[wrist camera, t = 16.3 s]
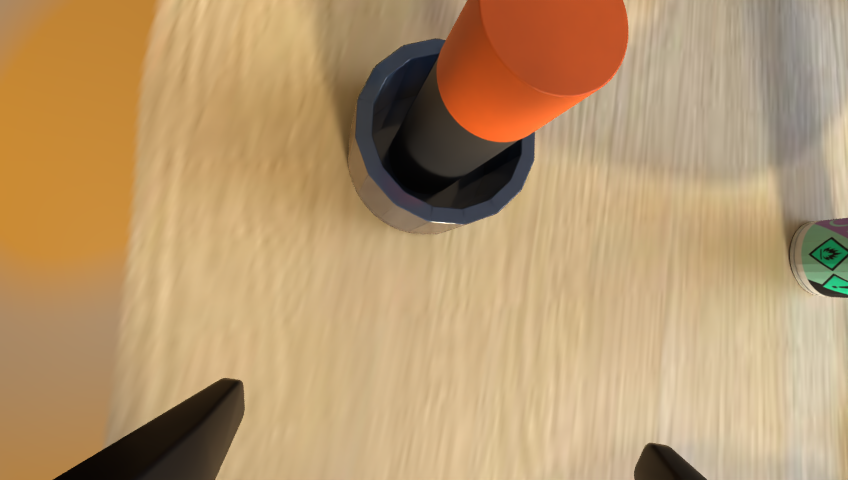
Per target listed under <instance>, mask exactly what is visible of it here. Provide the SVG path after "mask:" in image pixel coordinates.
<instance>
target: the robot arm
mask: <svg viewBox="0 0 848 480" xmlns="http://www.w3.org/2000/svg"><path fill="white" fill-rule="evenodd" d="M244 410H245V405H244V387H243V383H242V381H240V380H236V379H230V378H223V379H220V380H219V381H217V382H215V383H214V384H212V385H210V386H208V387H207V388H205V389H203V390H202V391H200V392H198V393H197V394H195V395H193V396H192V397H190V398H188V399H187V400H185V401H183V402H182V403H180V404H178V405H177V406H175V407H173V408H172V409H170V410H168V411H167V412H165V413H163V414H162V415H160V416H158V417H157V418H155V419H153V420H152V421H150V422H148V423H147V424H145V425H143V426H142V427H140V428H138V429H137V430H135V431H133V432H132V433H130V434H128V435H127V436H125V437H123V438H122V439H120V440H118V441H117V442H115V443H113V444H112V445H110V446H108V447H107V448H105V449H103V450H102V451H100V452H98V453H97V454H95V455H93V456H92V457H90V458H88V459H87V460H85V461H83V462H82V463H80V464H78V465H77V466H75V467H73V468H72V469H70V470H68V471H67V472H65V473H63V474H62V475H60V476H58V477H57V478H55V479H53V480H215V478H216V476H217V474H218V472H219V470H220V467H221V465H222V463H223V461H224V458H225V456H226V454H227V452H228V450H229V447H230V445H231V443H232V441H233V438H234V436H235V434H236V432H237V430H238V427H239V425H240V423H241V421H242V418H243V415H244ZM634 479H635V480H707V479H706V478H705V477H703V476H702V475H701V474H700V473H699V472H698V471H697V470H696V469H694V468H693V467H692V466H691V465H690V464H689V463H688V462H687V461H685V460H684V459H683V458H682V457H681V456H680V455H679V454H677V453H676V452H675V451H674V450H673V449H672V448H670V447H669V446H667V445H662V444H656V443H648V444H647V445H646V446H645V447H644V449H643V452H642V454H641V456H640V458H639V460H638V462H637V464H636V467H635V471H634Z"/></svg>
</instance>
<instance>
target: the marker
mask: <svg viewBox="0 0 848 480" xmlns="http://www.w3.org/2000/svg"><path fill="white" fill-rule="evenodd" d="M627 43H628V19H627V14H626V9H625V5H624V2H623V0H467V2H466V4H465V6H464V8H463V10H462V11H461V13H460V15H459V17H458V19H457V21H456V23H455V24H454V26H453V28H452V30H451V32H450V34H449V35H448V37H447V39H446V41H445V43H444V45H443V47H442V49H441V51H440V54H439V57H438V59H437V61H436V62H435V64H434V66H433V68H432V70H431V71H430V73H429V75H428V77H427V79H426V81H425V82H424V84H423V86H422V88H421V90H420V91H419V93H418V95H417V97H416V99H415V100H414V102H413V104H412V106H411V108H410V110H409V111H408V113H407V115H406V117H405V119H404V120H403V122H402V124H401V126H400V128H399V129H398V131H397V133H396V135H395V137H394V139H393V141H392V143H391V147H390V163H391V166H392V169H393V171H394V174H395V175H396V177H397V178H398V179H399V180H400V182H401V183H402V184H404V185H405V186H406V187H408V188H409V189H411V190H413V191H416V192H419V193H424V194H432V193H437V192H440V191H442V190H444V189H446V188H447V187H449V186H450V185H452V184H453V183H455V182H456V181H458V180H459V179H461V178H462V177H464V176H465V175H467V174H468V173H470V172H471V171H473V170H474V169H476V168H477V167H479V166H480V165H482V164H483V163H485V162H487V161H488V160H490V159H491V158H493V157H494V156H496V155H497V154H499V153H500V152H502V151H503V150H505V149H506V148H508V147H509V146H511V145H512V144H514V143H515V142H517V141H518V140H520V139H522V138H524V137H527V136H528V135H530V134H531V133H533V132H534V131H536V130H537V129H539V128H541V127H542V126H544V125H545V124H547V123H548V122H550V121H551V120H553V119H554V118H556V117H557V116H559V115H560V114H562V113H563V112H565V111H566V110H568V109H569V108H571V107H573V106H574V105H576V104H577V103H579V102H580V101H582V100H583V99H585V98H586V97H588V96H589V95H591V94H592V93H594V92H595V91H597V90H598V89H600V88H601V87H603V86H604V85H605V84H607V83H608V82H609V81H610V80H611V79H612V77H613V76H614V75H615V74H616V72H617V70H618V69H619V67H620V65H621V63H622V61H623V58H624V56H625V52H626V49H627Z"/></svg>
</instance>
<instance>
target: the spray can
mask: <svg viewBox="0 0 848 480" xmlns="http://www.w3.org/2000/svg"><path fill="white" fill-rule="evenodd" d="M790 262H791V267H792V271H793V273H794V276H795V278H796V280H797V281H798V283H799V284H800V285H801V287H802V288H803V289H804V290H806V291H807V292H808V293H810V294H813V295H817V296H826V297H844V298H848V218H843V219H833V220H823V221H816V222H809V223H806V224H804V225H803V226H801V227H800V228H799V229H798V230H797V232H796V233H795V235H794V237H793V240H792V242H791V247H790Z"/></svg>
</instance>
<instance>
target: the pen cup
mask: <svg viewBox="0 0 848 480" xmlns="http://www.w3.org/2000/svg"><path fill="white" fill-rule="evenodd" d="M445 41H446V40H442V39H431V40H426V41H421V42H417V43H412V44H407V45H403V46H402V47H400V48H399V49H397V50H396V51H395V52H393V53H392V54H391V55H389V56H388V57H387V58H385V59H384V60H383V61H381V62H380V63H378V64H377V65H376V66H375V68H373V70H372V72H371V74H370V75H369V77H368V79H367V81H366V83H365V85H364V87H363V89H362V91H361V93H360V94H359V96H358V99H357V103H356V107H355V112H354V116H353V121H352V126H351V130H350V136H349V148H348V166H349V172H350V176H351V179H352V183H353V185H354V187H355V190H356V192H357V193H358V195H359V197H360V199H361V200H362V201H363V203H364V204H365V205H366V207H367V208H368V209H369V210H370V211H371V212H372V213H373V214H374V215H375V216H377V217H378V218H379V219H380V220H382V221H383V222H385V223H387V224H388V225H390V226H392V227H394V228H396V229H399V230H402V231H405V232H409V233H415V234H439V233H442V232H445V231H448V230H451V229H454V228H457V227H460V226H463V225H466V224H469V223H472V222H475V221H478V220H480V219H483V218H486V217H489V216H492V215H495V214H497V213H498V212H499V211H501V210H502V209H503V208H504V207H505V206H506V205H507V204H508V203H509V202H510V201H511V200H512V199H513V198H514V197H515V196H516V195H517V194H518V193H519V192H520V191H521V190H522V188H523V186H524V183H525V181H526V178H527V176H528V174H529V171H530V169H531V166H532V164H533V162H534V147H535V131H534V132H533V133H531V134H530V135H528V136H527V137H524V138H522V139H520V140H518V141H517V142H515V143H514V144H512V145H511V146H509V147H508V148H506V149H505V150H503V151H502V152H500V153H499V154H497V155H496V156H494V157H493V158H491V159H490V160H488V161H487V162H485V163H483V164H482V165H480V166H479V167H477V168H476V169H474V170H473V171H471V172H470V173H468V174H467V175H465V176H464V177H462V178H461V179H459V180H458V181H456V182H455V183H453V184H452V185H450V186H449V187H447V188H446V189H444V190H442V191H440V192H437V193H432V194H424V193H419V192H416V191H413V190H411V189H409V188H408V187H406V186H405V185H404V184H402V183H401V182H400V180H399V179H398V178H397V177H396V175H395V174H394V171H393V169H392V166H391V163H390V147H391V143H392V141H393V139H394V137H395V135H396V133H397V131H398V129H399V128H400V126H401V124H402V122H403V120H404V119H405V117H406V115H407V113H408V111H409V110H410V108H411V106H412V104H413V102H414V100H415V99H416V97H417V95H418V93H419V91H420V90H421V88H422V86H423V84H424V82H425V81H426V79H427V77H428V75H429V73H430V71H431V70H432V68H433V66H434V64H435V62H436V61H437V59H438V57H439V54H440V51H441V49H442V47H443V45H444V43H445Z"/></svg>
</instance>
